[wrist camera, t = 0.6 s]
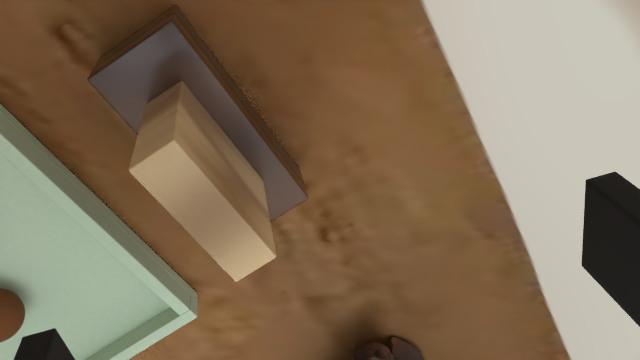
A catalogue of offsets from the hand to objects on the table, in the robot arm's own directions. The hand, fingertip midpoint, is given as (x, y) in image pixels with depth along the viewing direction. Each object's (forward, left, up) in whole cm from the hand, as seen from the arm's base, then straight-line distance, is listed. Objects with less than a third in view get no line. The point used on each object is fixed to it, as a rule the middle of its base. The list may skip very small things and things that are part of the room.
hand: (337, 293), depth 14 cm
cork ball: (+3, -22, -17) cm, 28 cm away
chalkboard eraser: (+1, -5, -20) cm, 20 cm away
